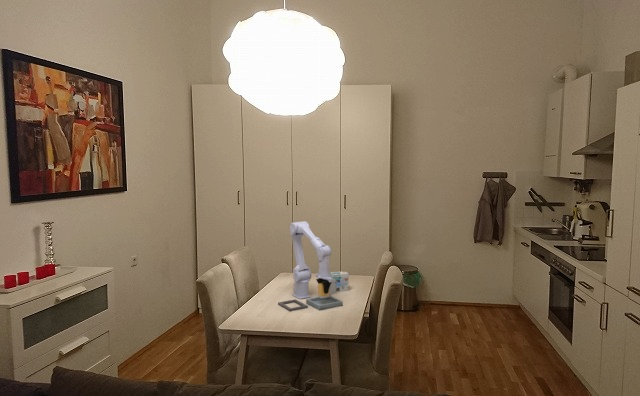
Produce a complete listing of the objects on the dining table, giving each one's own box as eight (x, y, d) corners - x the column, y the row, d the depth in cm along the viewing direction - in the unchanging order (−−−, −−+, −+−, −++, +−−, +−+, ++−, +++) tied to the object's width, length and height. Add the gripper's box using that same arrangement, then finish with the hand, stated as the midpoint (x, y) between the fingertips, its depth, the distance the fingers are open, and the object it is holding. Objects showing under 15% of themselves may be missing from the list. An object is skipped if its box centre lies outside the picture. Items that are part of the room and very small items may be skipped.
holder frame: (278, 304, 248) (278, 302, 248) (295, 301, 254) (295, 299, 254) (289, 311, 236) (289, 309, 236) (307, 307, 242) (307, 305, 242)
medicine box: (330, 291, 273) (330, 277, 272) (335, 293, 270) (335, 279, 269) (321, 294, 266) (321, 280, 266) (327, 296, 264) (327, 281, 263)
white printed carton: (332, 292, 272) (332, 274, 271) (329, 289, 279) (329, 272, 278) (349, 290, 275) (349, 273, 274) (345, 287, 281) (345, 270, 281)
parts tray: (306, 303, 249) (306, 299, 249) (328, 299, 257) (328, 295, 257) (319, 310, 238) (319, 305, 237) (342, 305, 245) (342, 301, 245)
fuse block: (318, 296, 247) (318, 283, 247) (325, 295, 250) (325, 282, 249) (321, 298, 244) (321, 284, 244) (329, 297, 247) (329, 283, 246)
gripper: (311, 266, 250) (311, 290, 251) (325, 271, 238) (325, 296, 239) (321, 264, 254) (321, 288, 255) (336, 269, 241) (336, 294, 242)
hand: (324, 292), depth 247 cm, fingers closed on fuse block, 3 cm apart
